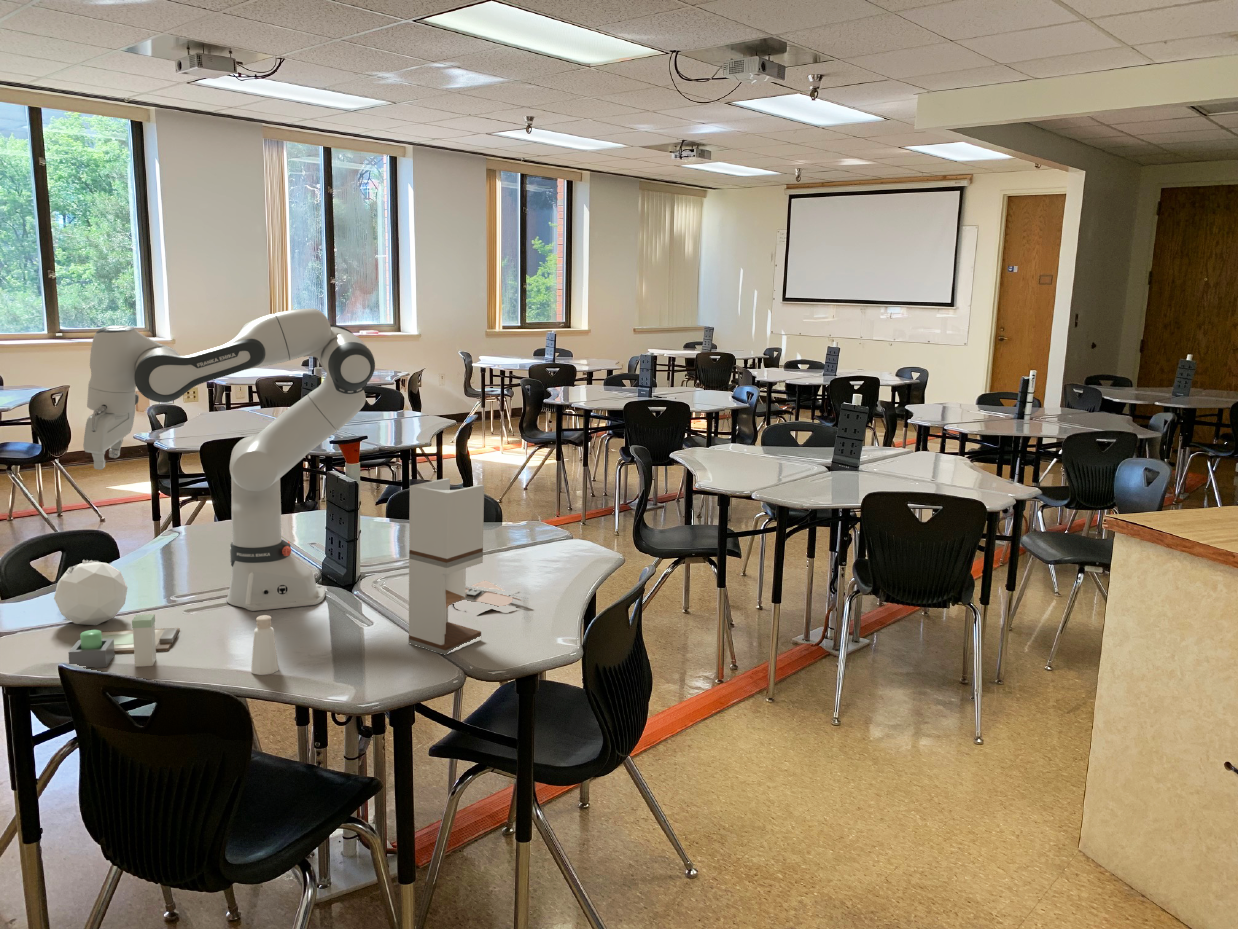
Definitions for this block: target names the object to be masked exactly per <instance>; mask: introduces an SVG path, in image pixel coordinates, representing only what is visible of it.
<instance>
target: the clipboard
mask: <svg viewBox="0 0 1238 929" xmlns="http://www.w3.org/2000/svg"><path fill="white" fill-rule="evenodd" d="M180 629H181V627H168V628H167V627H166V628H165V627H164V628H155V643H156V652H169V651H170V649H171V647H172V645H173V644H174V641H175V640H176V637H177V636H178V635H179V632H180ZM100 631H101V630H100ZM101 635H102V639H114V652H115V654H134V639H133V629H123V630H122V629H120V630H102V631H101Z"/></svg>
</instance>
